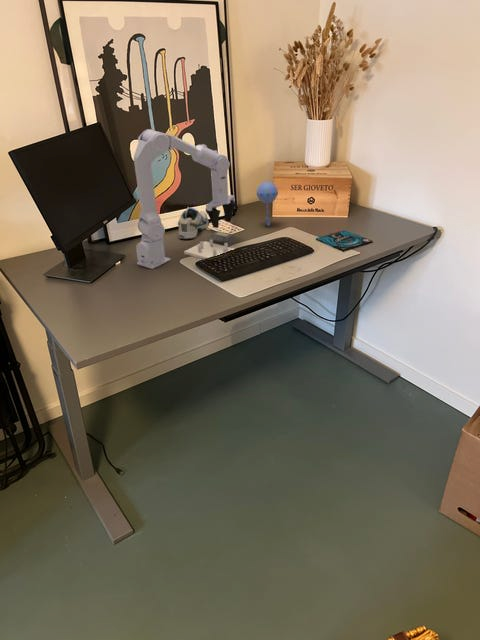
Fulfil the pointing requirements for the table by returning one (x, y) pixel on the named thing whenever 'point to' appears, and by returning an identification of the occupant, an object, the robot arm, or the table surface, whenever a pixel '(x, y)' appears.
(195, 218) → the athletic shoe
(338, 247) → the guitar string package
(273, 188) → the baby rattle
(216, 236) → the block
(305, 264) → the table surface
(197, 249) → the pegged base plate
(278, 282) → the table surface
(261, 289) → the table surface
